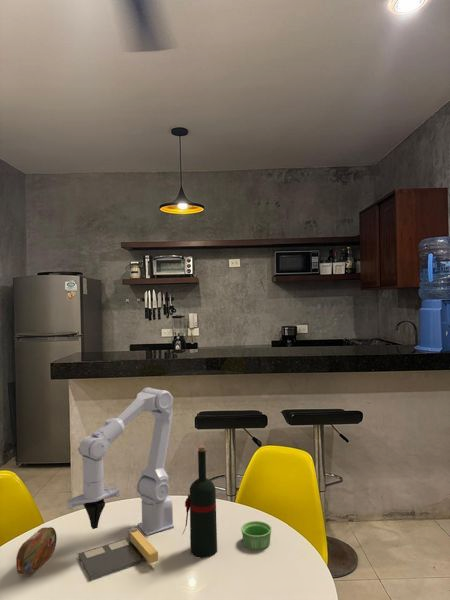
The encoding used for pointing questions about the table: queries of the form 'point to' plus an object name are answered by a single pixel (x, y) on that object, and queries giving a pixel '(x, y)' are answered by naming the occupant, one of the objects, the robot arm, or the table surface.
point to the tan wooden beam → (143, 545)
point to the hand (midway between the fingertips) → (94, 527)
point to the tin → (36, 551)
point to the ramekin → (256, 534)
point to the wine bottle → (202, 512)
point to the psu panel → (110, 558)
